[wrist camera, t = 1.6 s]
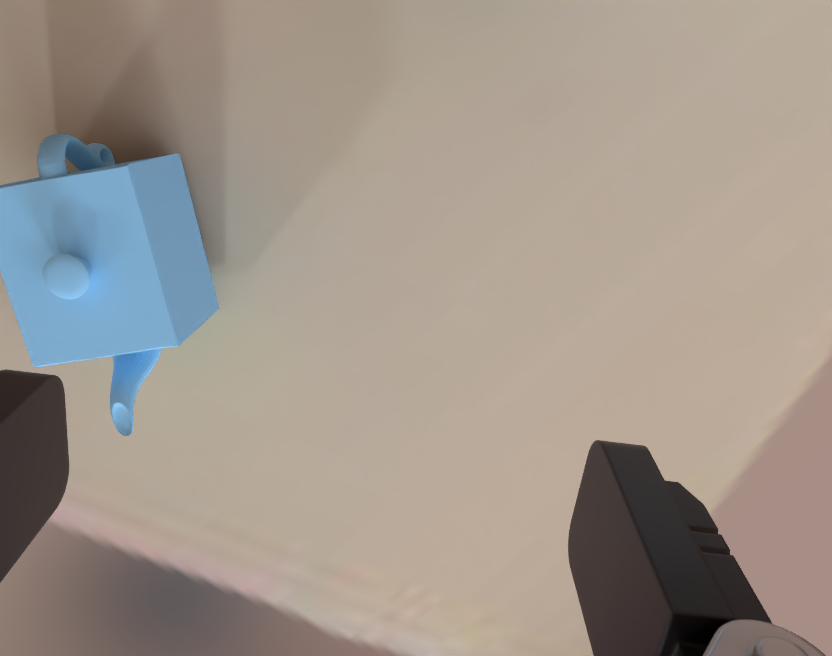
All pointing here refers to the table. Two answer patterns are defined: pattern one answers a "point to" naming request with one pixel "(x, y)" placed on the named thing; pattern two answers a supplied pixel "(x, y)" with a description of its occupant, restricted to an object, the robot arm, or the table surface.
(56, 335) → the teapot
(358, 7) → the table surface
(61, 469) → the robot arm
